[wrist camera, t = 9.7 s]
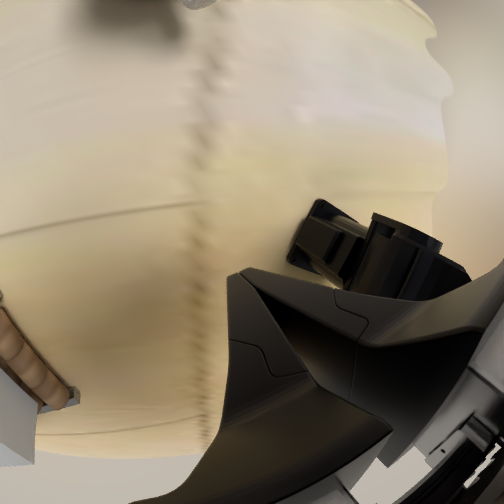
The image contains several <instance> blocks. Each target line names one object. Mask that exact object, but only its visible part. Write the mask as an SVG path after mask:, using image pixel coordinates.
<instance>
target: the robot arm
mask: <svg viewBox="0 0 504 504" xmlns="http://www.w3.org/2000/svg"><path fill="white" fill-rule="evenodd" d="M321 203H322V205H321V206H320V204H321ZM371 219H372V221H371V223H370V226H369V228H367V227H365V226H363V225H361V224H359V223H358V222H357V221H356V220H354V219H353V218H351V217H350V216H348V215H347V214H345V213H344V212H342V211H341V210H339V209H338V208H336V207H335V206H333V205H332V204H330V203H329V202H327V201H325V200H323V199H321V198H320V199H318V200H317V201H316V202H315V204H314V206H313V208H312V210H311V212H310V214H309V216H308V218H307V220H306V222H305V224H304V226H303V228H302V230H301V232H300V234H299V236H298V237H297V239H296V241H295V243H294V245H293V247H292V249H291V251H290V253H289V255H288V257H287V261H288V262H289V263H290V264H292V265H294V266H297V267H300V268H302V269H305V270H308V271H310V272H313V273H316V274H318V275H321V276H324V277H325V278H326V279H328V280H329V281H330V282H331V283H333V284H334V285H335V286H337V287H338V288H339V289H336V288H334V290H333V288H332V287H328V286H324V285H319V284H315V283H311V282H307V281H303V280H299V279H295V278H291V277H287V276H283V275H279V274H275V273H271V272H267V271H263V270H259V269H255V268H251V267H249V268H246V269H244V270H242V271H240V272H239V273H235V274H232V275H230V276H228V277H227V313H228V340H229V342H228V345H229V365H228V376H227V384H226V391H225V398H224V405H223V413H222V419H221V423H220V427H219V431H218V433H217V435H216V437H215V439H214V440H213V442H212V443H211V445H210V446H209V448H208V449H207V451H206V452H205V454H204V456H203V457H202V458H201V460H200V461H199V463H198V464H197V465H196V467H195V468H194V470H193V471H192V473H191V474H190V475H189V477H188V478H187V479H186V480H185V482H184V483H183V484H182V485H181V486H179V487H178V488H177V489H175V490H174V491H171V492H169V493H168V494H165V495H162V496H159V497H155V498H149V499H145V500H139V501H134V502H132V503H129V504H359V503H358V502H357V500H356V499H355V498H354V497H353V496H352V494H351V493H350V492H349V491H350V490H351V489H352V487H353V486H354V485H355V484H356V483H357V482H358V480H359V479H360V478H361V477H362V475H363V474H364V472H365V471H366V470H367V469H368V468H369V466H370V465H371V463H372V462H373V461H374V459H375V458H376V457H377V458H378V459H379V460H380V461H381V462H382V463H383V464H384V465H385V466H386V467H387V468H388V467H390V466H391V465H392V464H394V463H395V462H396V461H397V460H398V459H400V458H401V457H402V456H403V455H404V454H405V453H407V452H408V451H409V450H410V449H411V448H412V447H413V446H415V447H416V448H417V449H418V450H419V451H420V452H421V453H422V454H423V455H424V456H425V457H426V459H425V461H426V463H427V464H428V465H429V466H430V467H431V468H432V470H431V471H430V472H429V473H428V474H427V475H426V476H425V477H424V478H423V479H422V480H420V481H419V482H418V483H417V484H416V485H415V486H414V487H412V488H411V489H410V490H409V491H408V492H406V493H405V494H404V495H403V496H402V497H400V498H399V499H398V500H396V501H395V502H394V503H393V504H504V259H503V260H502V262H501V263H500V264H499V265H498V266H497V267H496V268H494V269H493V270H491V271H490V272H488V273H487V274H485V275H483V276H481V277H479V278H477V279H475V280H473V281H472V280H471V279H470V277H469V275H468V274H467V273H466V270H465V269H464V267H462V266H461V265H459V264H457V263H456V262H454V261H452V260H450V259H448V258H446V257H444V256H442V255H441V254H439V252H440V250H441V247H442V245H443V243H442V242H440V241H438V240H436V239H435V238H433V237H431V236H429V235H427V234H425V233H423V232H421V231H419V230H417V229H415V228H412V227H410V226H408V225H406V224H403V223H401V222H398V221H395V220H393V219H390V218H388V217H385V216H382V215H380V214H377V213H374V212H373V215H372V218H371ZM293 257H294V259H293V260H292V258H293ZM340 289H341V290H340ZM495 443H497V444H498V445H499V446H501V449H499V450H498V451H497V452H496V453H495V454H494V455H493V456H492V458H491V460H492V461H491V462H490V463H489V464H488V465H487V467H486V468H485V469H484V470H483V471H481V472H480V474H479V475H478V476H477V477H476V478H475V480H474V481H473V482H472V483H471V484H470V486H469V487H468V488H466V487H465V486H464V483H465V481H466V480H467V479H469V478H470V477H471V476H473V475H474V474H475V470H476V468H477V467H479V466H480V465H481V464H482V463H483V462H484V461H485V460H486V458H485V457H486V456H487V455H488V454H489V453H490V452H491V451H492V450H493V449H494V448H495Z"/></svg>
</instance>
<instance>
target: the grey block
mask: <svg viewBox="0 0 504 504" xmlns="http://www.w3.org/2000/svg"><path fill="white" fill-rule="evenodd" d="M37 408H38V403H37V402H36V401H34V400H33V399H32V398H31V397H30V396H29V395H28V394H27V393H25V392H24V391H23V390H22V389H21V388H20V387H19V386H18V385H17V384H16V383H15V382H14V381H13V380H12V379H11V378H10V377H9V376H8V375H7V374H6V373H5V372H4V371H3V370H2V369H1V368H0V466H1V467H2V466H22V465H33V464H34V457H35V454H34V453H35V452H34V451H35V431H36V418H37Z"/></svg>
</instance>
